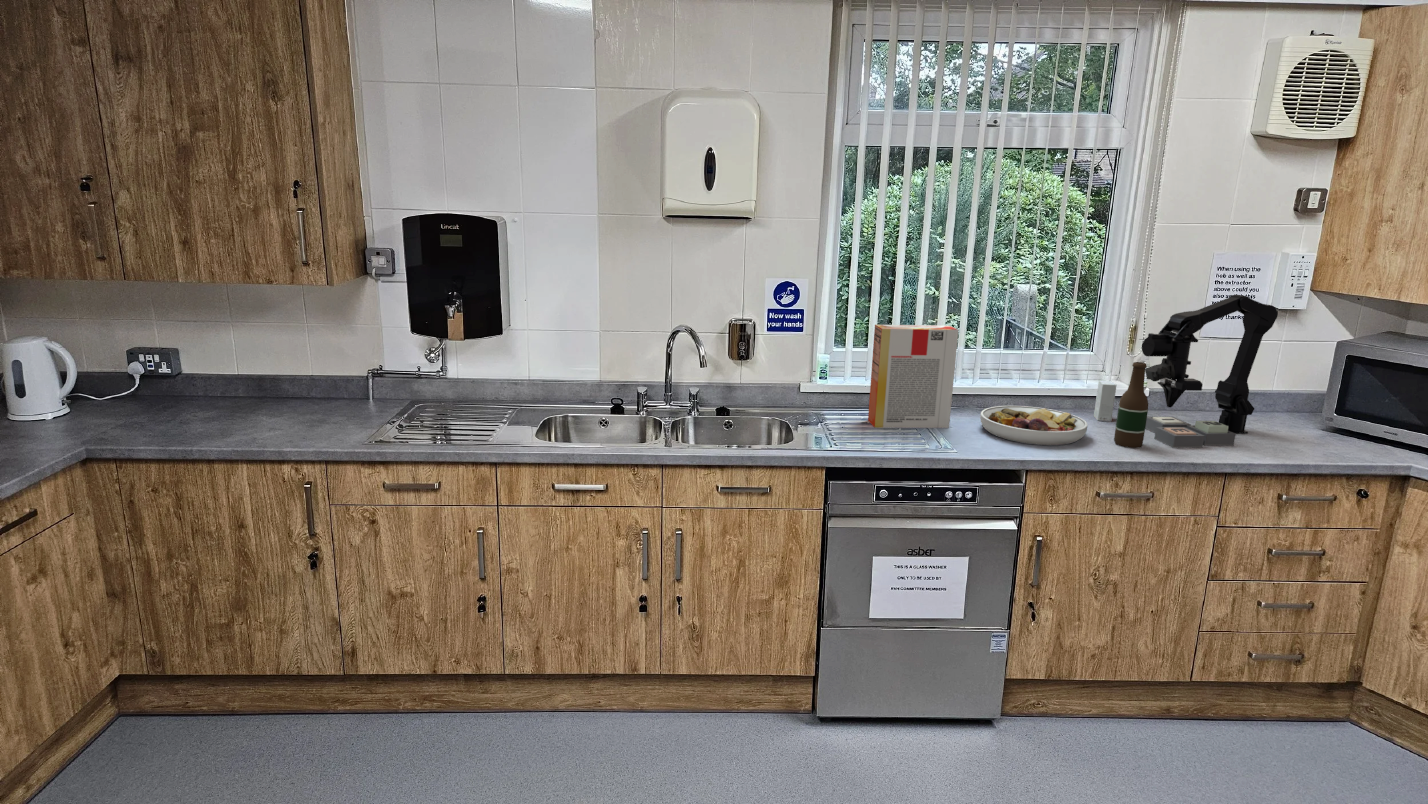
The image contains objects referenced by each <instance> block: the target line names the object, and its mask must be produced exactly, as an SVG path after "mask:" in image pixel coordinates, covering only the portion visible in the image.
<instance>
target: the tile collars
mask: <svg viewBox="0 0 1428 804" xmlns="http://www.w3.org/2000/svg"><path fill="white" fill-rule="evenodd" d="M1153 417H1154V416H1147V420H1146V427H1145V430H1146V431H1149V432H1151V433H1154V440H1156V441H1158V442H1159V443H1162V444H1164V445H1165V446H1168V447H1170V448H1172V449H1199V448H1200V449H1201V448H1202V449H1203V447H1205V446H1207V447H1209V446H1210V447H1213V446H1214V447H1215V446H1216V447H1217V446H1218V447H1222V446H1223V447H1225V446H1227V447H1232V446H1235V442H1236V441H1235V440H1236V435H1237V433H1233V432H1230V431H1228V432H1227V433H1207V432H1204V431H1202V430H1200V429H1197V428H1195V424H1194V425H1192V424H1190V423H1188V422H1186V421H1184V420H1181V419H1179V418H1177V417H1175V416H1171V417H1172V418H1174V419H1177V420H1179V421H1181V422H1183V424H1164V423H1161V422H1159V421H1157V420H1155V419H1153ZM1164 428H1185V429H1187V430H1190V431H1192V432H1194V433H1196V435H1175V434H1173V433H1171V432H1169V431H1166V430H1164Z"/></svg>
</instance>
